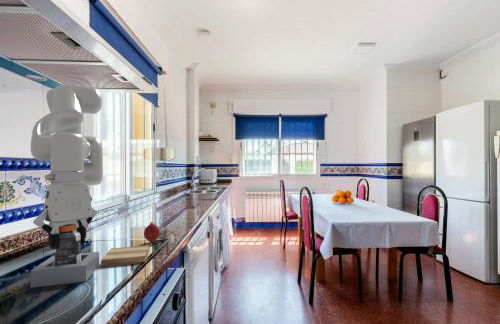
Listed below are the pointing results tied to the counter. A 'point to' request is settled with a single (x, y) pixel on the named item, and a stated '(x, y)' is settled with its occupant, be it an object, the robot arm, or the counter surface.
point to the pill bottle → (68, 246)
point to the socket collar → (64, 271)
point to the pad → (125, 256)
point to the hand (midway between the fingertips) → (68, 244)
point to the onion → (151, 232)
